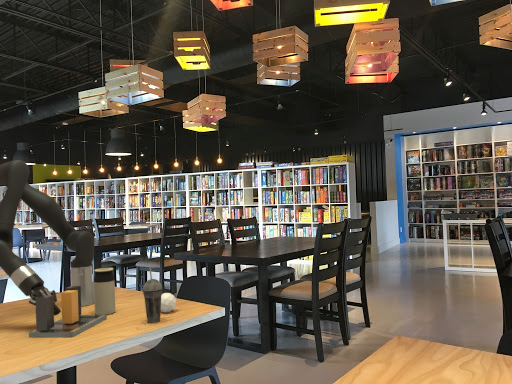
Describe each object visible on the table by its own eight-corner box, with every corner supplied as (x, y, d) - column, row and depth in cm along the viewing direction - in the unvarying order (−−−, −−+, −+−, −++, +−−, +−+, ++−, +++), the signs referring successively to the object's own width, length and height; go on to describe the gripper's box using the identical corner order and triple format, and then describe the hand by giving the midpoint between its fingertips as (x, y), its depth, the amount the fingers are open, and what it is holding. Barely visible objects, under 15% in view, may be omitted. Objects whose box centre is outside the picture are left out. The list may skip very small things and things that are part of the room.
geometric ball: (167, 317, 172) (172, 299, 177) (177, 313, 167) (181, 294, 172) (150, 311, 169) (156, 292, 174) (160, 306, 164) (166, 287, 169)
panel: (68, 319, 166) (67, 285, 166) (106, 318, 163) (105, 285, 164) (29, 337, 143) (28, 298, 143) (72, 337, 141) (71, 298, 141)
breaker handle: (68, 320, 156) (67, 290, 156) (78, 320, 155) (77, 290, 155) (62, 323, 152) (61, 292, 152) (72, 323, 151) (71, 292, 151)
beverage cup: (167, 319, 159) (165, 265, 160) (156, 324, 152) (155, 268, 153) (150, 318, 161) (149, 265, 162) (139, 323, 154) (137, 268, 155)
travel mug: (108, 315, 168) (107, 270, 169) (90, 315, 170) (89, 270, 171) (119, 310, 176) (117, 267, 177) (101, 310, 178) (100, 267, 178)
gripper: (21, 275, 149) (53, 310, 147) (45, 270, 163) (75, 302, 160) (7, 291, 150) (39, 325, 148) (32, 284, 163) (62, 316, 161)
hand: (58, 313), depth 154 cm, fingers closed
